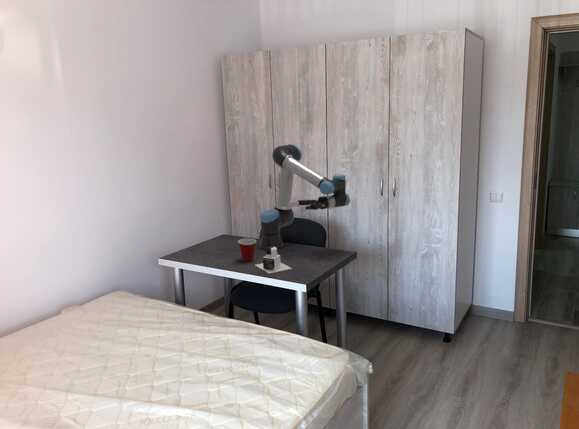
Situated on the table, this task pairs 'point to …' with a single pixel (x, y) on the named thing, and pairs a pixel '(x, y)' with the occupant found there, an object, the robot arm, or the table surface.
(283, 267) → the paper
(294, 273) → the table surface
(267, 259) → the white blocky tower
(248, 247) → the plastic cup
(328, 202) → the robot arm
